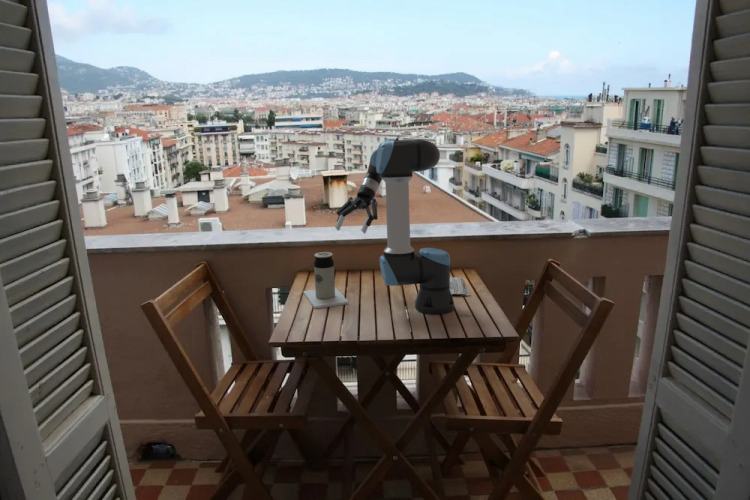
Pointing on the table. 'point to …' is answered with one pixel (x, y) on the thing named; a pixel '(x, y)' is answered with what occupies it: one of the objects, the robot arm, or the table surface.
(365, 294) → the table surface
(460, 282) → the newspaper
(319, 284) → the travel mug
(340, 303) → the placemat
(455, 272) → the table surface
